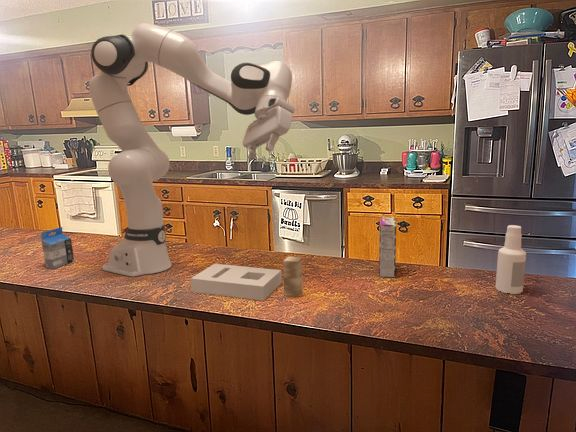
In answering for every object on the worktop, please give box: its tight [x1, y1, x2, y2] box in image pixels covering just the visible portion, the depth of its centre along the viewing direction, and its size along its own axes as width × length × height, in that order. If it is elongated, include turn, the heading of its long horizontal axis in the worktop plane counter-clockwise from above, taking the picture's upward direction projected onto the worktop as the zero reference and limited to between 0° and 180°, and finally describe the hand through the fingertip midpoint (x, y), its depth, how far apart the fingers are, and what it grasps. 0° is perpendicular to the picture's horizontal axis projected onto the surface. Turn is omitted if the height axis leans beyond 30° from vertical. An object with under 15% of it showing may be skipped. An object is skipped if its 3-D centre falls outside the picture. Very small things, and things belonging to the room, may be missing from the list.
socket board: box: [190, 263, 283, 302], centre depth 129 cm, size 22×14×4 cm, turn 71°
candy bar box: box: [378, 216, 397, 278], centre depth 139 cm, size 11×5×16 cm, turn 168°
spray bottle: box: [494, 224, 527, 295], centre depth 122 cm, size 7×7×18 cm
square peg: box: [283, 256, 303, 298], centre depth 123 cm, size 4×4×10 cm
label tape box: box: [40, 226, 75, 270], centre depth 153 cm, size 9×4×12 cm, turn 160°
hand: (260, 154), depth 129 cm, fingers open, 8 cm apart
